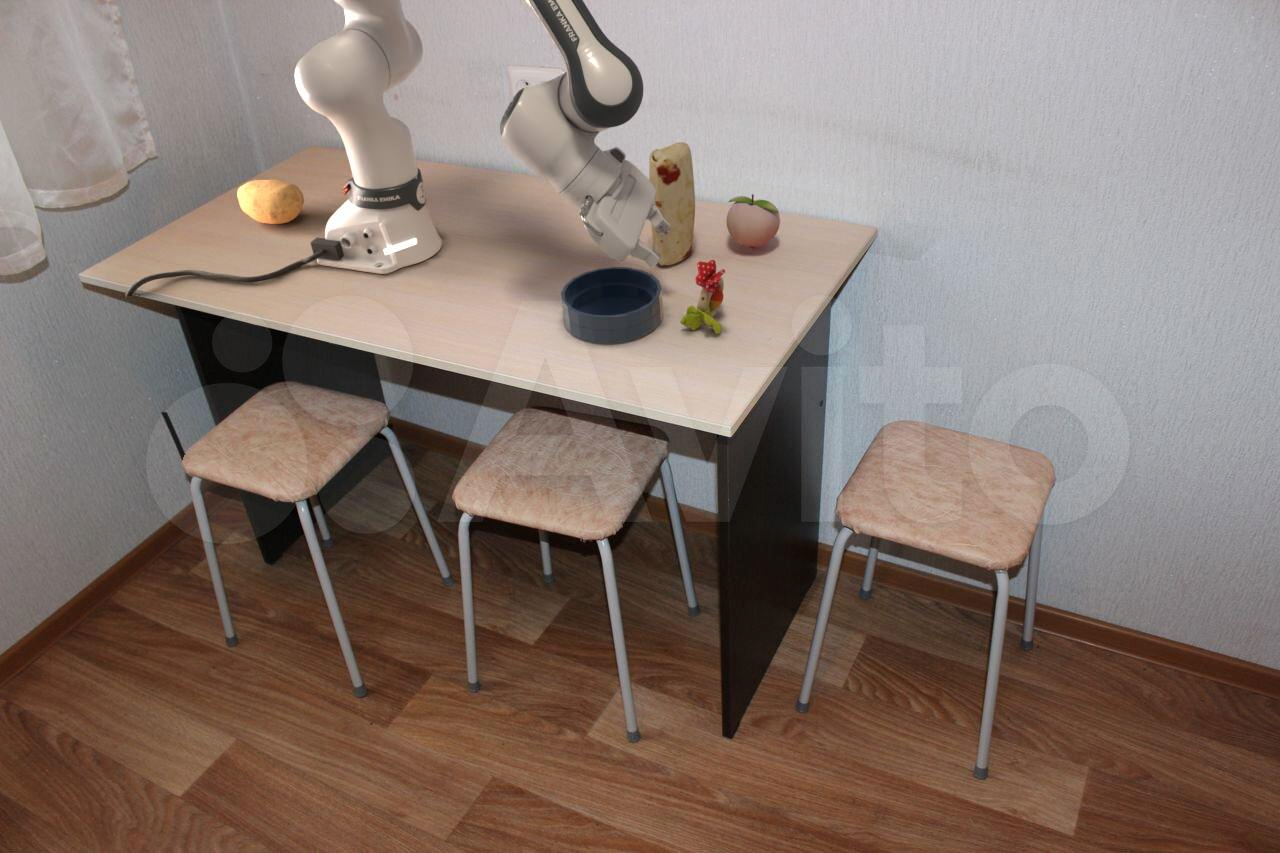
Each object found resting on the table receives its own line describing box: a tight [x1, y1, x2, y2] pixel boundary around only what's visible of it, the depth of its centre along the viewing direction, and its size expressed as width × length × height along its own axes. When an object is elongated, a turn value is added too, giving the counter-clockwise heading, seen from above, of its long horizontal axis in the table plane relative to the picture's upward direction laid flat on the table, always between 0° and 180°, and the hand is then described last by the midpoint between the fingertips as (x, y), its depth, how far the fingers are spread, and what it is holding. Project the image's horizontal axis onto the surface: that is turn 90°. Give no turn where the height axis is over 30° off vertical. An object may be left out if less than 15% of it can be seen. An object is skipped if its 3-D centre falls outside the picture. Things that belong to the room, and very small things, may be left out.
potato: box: [236, 179, 305, 225], centre depth 200 cm, size 10×14×8 cm
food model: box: [648, 141, 696, 266], centre depth 174 cm, size 10×7×20 cm
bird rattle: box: [679, 259, 726, 335], centre depth 159 cm, size 6×11×9 cm
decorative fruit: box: [726, 193, 781, 249], centre depth 177 cm, size 9×8×10 cm
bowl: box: [560, 266, 664, 344], centre depth 163 cm, size 16×16×5 cm
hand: (662, 246), depth 156 cm, fingers open, 8 cm apart
